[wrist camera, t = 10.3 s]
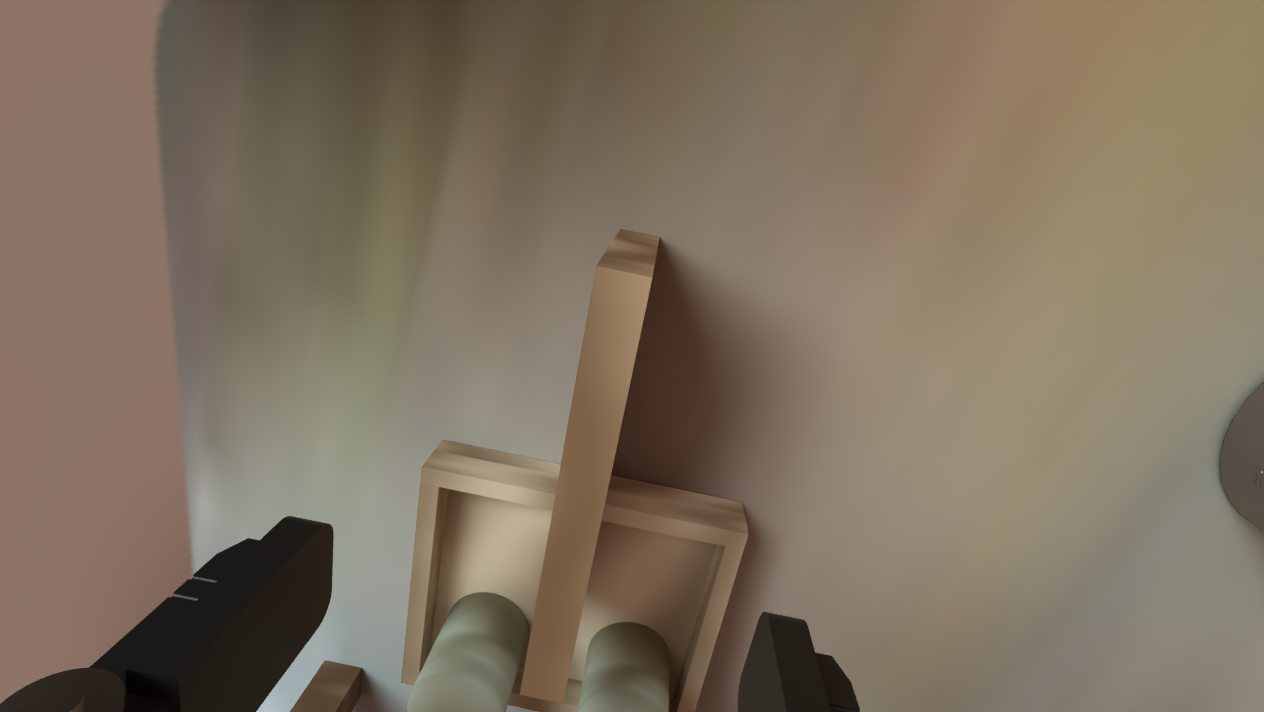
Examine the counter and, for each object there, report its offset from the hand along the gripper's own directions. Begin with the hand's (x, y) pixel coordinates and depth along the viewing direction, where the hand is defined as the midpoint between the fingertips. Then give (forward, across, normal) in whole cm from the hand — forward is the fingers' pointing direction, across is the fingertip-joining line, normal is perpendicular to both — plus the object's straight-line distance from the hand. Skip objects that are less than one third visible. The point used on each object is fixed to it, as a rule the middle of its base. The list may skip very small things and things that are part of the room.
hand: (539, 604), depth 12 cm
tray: (+16, 0, +7) cm, 17 cm away
